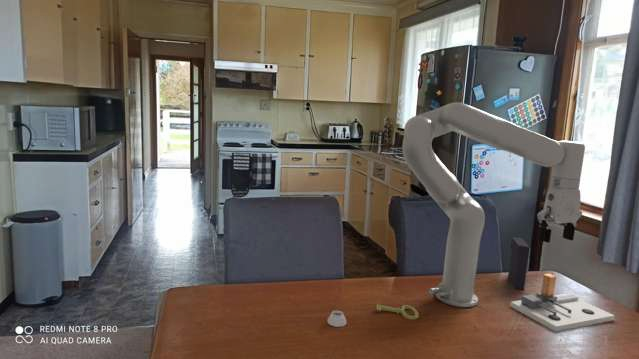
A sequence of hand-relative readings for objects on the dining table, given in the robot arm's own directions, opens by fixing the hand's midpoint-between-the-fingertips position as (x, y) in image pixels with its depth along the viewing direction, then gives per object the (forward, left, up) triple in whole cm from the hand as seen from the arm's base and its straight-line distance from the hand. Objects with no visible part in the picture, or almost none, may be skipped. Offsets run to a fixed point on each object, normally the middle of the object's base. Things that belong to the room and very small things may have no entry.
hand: (556, 240), depth 134 cm
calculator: (+7, +18, -22) cm, 29 cm away
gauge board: (+2, -4, -22) cm, 22 cm away
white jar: (-66, +9, -22) cm, 70 cm away
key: (-47, +10, -22) cm, 52 cm away
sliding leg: (0, -3, -19) cm, 20 cm away
